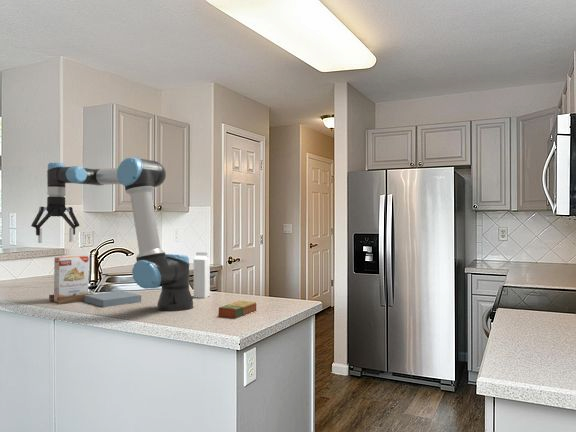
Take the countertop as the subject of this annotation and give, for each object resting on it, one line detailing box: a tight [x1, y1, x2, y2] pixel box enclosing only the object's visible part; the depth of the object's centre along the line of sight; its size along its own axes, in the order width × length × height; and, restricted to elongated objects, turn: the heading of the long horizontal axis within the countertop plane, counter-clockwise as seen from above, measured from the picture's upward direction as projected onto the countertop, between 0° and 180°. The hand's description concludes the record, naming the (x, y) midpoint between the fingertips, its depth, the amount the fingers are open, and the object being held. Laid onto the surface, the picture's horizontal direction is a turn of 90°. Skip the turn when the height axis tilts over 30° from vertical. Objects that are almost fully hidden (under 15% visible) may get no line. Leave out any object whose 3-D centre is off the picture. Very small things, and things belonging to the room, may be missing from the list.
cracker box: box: [53, 255, 90, 303], centre depth 221 cm, size 14×6×21 cm, turn 138°
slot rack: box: [48, 292, 94, 305], centre depth 221 cm, size 11×16×3 cm
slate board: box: [83, 290, 142, 308], centre depth 217 cm, size 20×18×3 cm
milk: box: [193, 251, 211, 299], centre depth 230 cm, size 6×6×22 cm
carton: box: [217, 300, 257, 319], centre depth 189 cm, size 8×16×4 cm, turn 153°
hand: (55, 242), depth 216 cm, fingers open, 13 cm apart
